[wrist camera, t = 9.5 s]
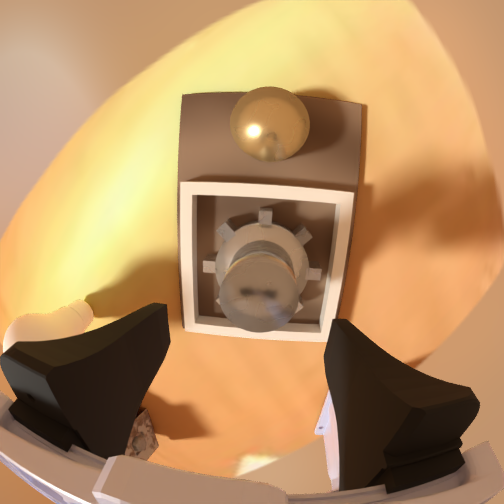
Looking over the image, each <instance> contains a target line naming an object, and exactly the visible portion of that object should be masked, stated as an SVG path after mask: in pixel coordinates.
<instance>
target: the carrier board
mask: <svg viewBox="0 0 504 504" xmlns="http://www.w3.org/2000/svg"><path fill="white" fill-rule="evenodd" d="M245 94H246V93H200V94H185V95H182V104H181V117H180V133H179V154H178V193H177V223H178V262H179V284H180V300H181V314H182V326H183V328H185V324H184V310H183V295H182V276H181V248H180V182H183V181H216V182H243V183H262V184H278V185H291V186H303V187H314V188H324V189H334V190H343V191H350V192H353V193H354V198H353V208H352V217H351V225H350V233H349V240H348V247H347V254H346V261H345V267H344V273H343V279H342V284H341V290H340V295H339V300H338V305H337V310H336V315H335V319H338V315H339V310H340V305H341V300H342V295H343V290H344V284H345V279H346V273H347V267H348V261H349V255H350V248H351V241H352V234H353V226H354V218H355V210H356V200H357V190H358V178H359V165H360V147H361V116H362V105H361V104H356V103H350V102H345V101H338V100H332V99H325V98H317V97H308V96H298V95H295V96H296V97H298V98H299V99H300V100H301V102H302V103H303V104H304V106H305V108H306V110H307V112H308V115H309V120H310V129H309V134H308V137H307V139H306V141H305V143H304V145H303V146H302V147H301V148H300V149H299V150H298V151H297V152H296V153H295V154H293V155H292V156H290V157H289V158H287V159H285V160H282V161H279V162H263V161H259V160H257V159H254V158H253V157H251V156H249V155H248V154H246V153H245V152H244V151H243V150H241V149H240V148H239V146H238V145H237V144H236V142H235V141H234V138H233V136H232V133H231V129H230V118H231V114H232V111H233V108H234V106H235V105H236V103H237V102H238V101H239V99H240V98H241V97H243V96H244V95H245ZM260 207H262V208H272V221H275V222H278V223H280V224H283V225H285V226H286V227H288V228H289V229H291V230H292V231H293V230H294V229H295V228H296V227H298V226H299V225H300V224H301V223H302V224H303V225H304V226H305V227H306V228H307V230H308V231H309V232H310V234H311V235H312V237H313V238H311V239H310V240H309V241H308V242H306V243H305V244H304V245H303V247H304V249H305V252H306V254H307V257H308V261H318V262H319V264H320V266H321V268H322V271H321V278H320V281H319V280H307V283H306V286H305V288H304V290H303V291H302V293H301V294H300V296H301V297H302V301H303V306H304V307H303V308H302V309H301V310H299V311H298V312H297V313H295V314H294V316H293V317H292V318H291V319H290V320H289V322H287V323H299V324H319V321H320V315H321V310H322V304H323V298H324V292H325V286H326V280H327V274H328V267H329V260H330V253H331V245H332V237H333V229H334V220H335V210H336V204H334V203H324V202H313V201H301V200H289V199H275V198H259V197H241V196H219V195H197V284H198V312H199V315H200V316H209V317H219V318H227V317H226V316H225V314H224V313H223V311H222V308H221V306H220V305H219V304H218V303H217V302H216V299H217V296H218V294H219V291H220V286H219V284H218V281H217V278H216V273H206V272H203V260H204V259H205V257H206V256H207V255H208V254H218V251H219V249H220V247H221V246H222V244H223V243H224V241H225V240H224V239H223V238H222V237H221V236H220V235H219V234H218V232H217V231H216V230H217V229H218V228H219V227H220V226H221V225H222V224H223V223H224V222H225V221H226V220H228V219H230V220H231V221H232V222H233V223H234V224H235V225H236V226H237V227H239V226H240V225H242V224H244V223H247V222H250V221H254V220H258V219H259V209H260Z"/></svg>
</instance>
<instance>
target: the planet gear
mask: <svg viewBox="0 0 504 504" xmlns="http://www.w3.org/2000/svg"><path fill="white" fill-rule="evenodd" d="M216 231H217V232H218V234H219V235H220V236H221V237H222V238H223V239H224V240H225V241H224V243H223V244H222V246H221V247H220V249H219V251H218V254H208V255H207V256H206V257H205V259H204V260H203V272H206V273H216V278H217V281H218V284H219V286H220V291H219V294H218V296H217V299H216V302H217V303H218V304H219V305H220V306H221V308H222V311H223V313H224V314H225V316H226V317H227V318H228V319H229V320H230V321H231V322H232V323H233V324H234V325H236V326H237V327H239V328H241V329H243V330H246V331H250V332H256V333H263V332H270V331H273V330H276V329H278V328H280V327H282V326H284V325H285V324H286V323H287V322H289V320H290V319H291V318H292V317H293V316H294V314H295V313H297V312H298V311H299V310H301V309H302V308H303V307H304V306H303V301H302V297H301V296H300V294H301V293H302V291H303V290H304V288H305V286H306V283H307V280H319V281H320V278H321V271H322V268H321V266H320V264H319V262H318V261H308V257H307V254H306V252H305V249H304V247H303V245H304V244H305V243H306V242H308V241H309V240H310V239H311V238H313V237H312V235H311V234H310V232H309V231H308V230H307V228H306V227H305V226H304V225H303V224H302V223H301V224H300V225H299V226H298V227H296V228H295V229H294V230H293V231H292V230H291V229H289V228H288V227H286V226H285V225H283V224H280V223H278V222H275V221H272V208H262V207H260V209H259V219H258V220H254V221H250V222H247V223H244V224H242V225H240V226H239V227H237V226H236V225H235V224H234V223H233V222H232V221H231V220H230V219H228V220H226V221H225V222H224V223H223V224H222V225H221V226H220V227H219V228H218V229H217V230H216Z"/></svg>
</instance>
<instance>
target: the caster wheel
mask: <svg viewBox="0 0 504 504" xmlns="http://www.w3.org/2000/svg"><path fill="white" fill-rule="evenodd" d="M158 446H159V445H158V442H157V439H156V436H155V433H154V430H153V426H152V423H151V420H150V417H149V413H148V411H147V409H145V410H144V411H143V412H142V413H141V414H140V415H139V416H138V417H137V418H136V419H135V421H134V424H133V427H132V430H131V433H130V437H129V440H128V444H127V448H126V451H125V456H129V457H134V458H139V459H142V460H145V461H147V460H148V458H149V457H150V456H151V455H152V454H153V452H154V451H155V450H156V449H157V448H158Z"/></svg>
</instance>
